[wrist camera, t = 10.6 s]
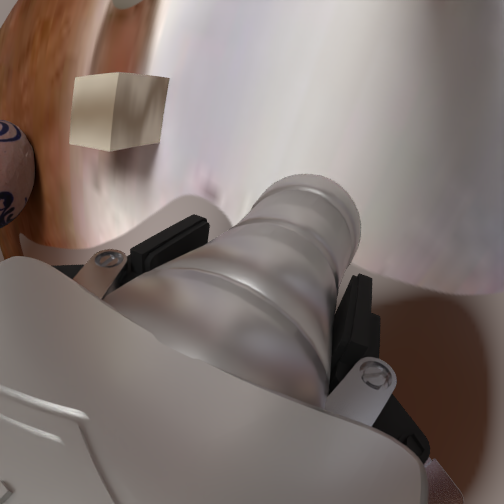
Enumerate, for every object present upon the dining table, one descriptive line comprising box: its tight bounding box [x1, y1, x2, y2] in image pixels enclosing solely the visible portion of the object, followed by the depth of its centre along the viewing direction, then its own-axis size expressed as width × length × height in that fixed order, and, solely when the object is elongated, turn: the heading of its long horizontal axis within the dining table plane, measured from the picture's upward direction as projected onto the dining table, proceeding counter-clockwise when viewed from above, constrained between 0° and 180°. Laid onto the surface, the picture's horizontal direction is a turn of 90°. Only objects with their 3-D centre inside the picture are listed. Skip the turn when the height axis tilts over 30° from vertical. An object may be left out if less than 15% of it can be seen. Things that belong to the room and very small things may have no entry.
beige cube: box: [69, 72, 169, 152], centre depth 20 cm, size 6×6×6 cm
